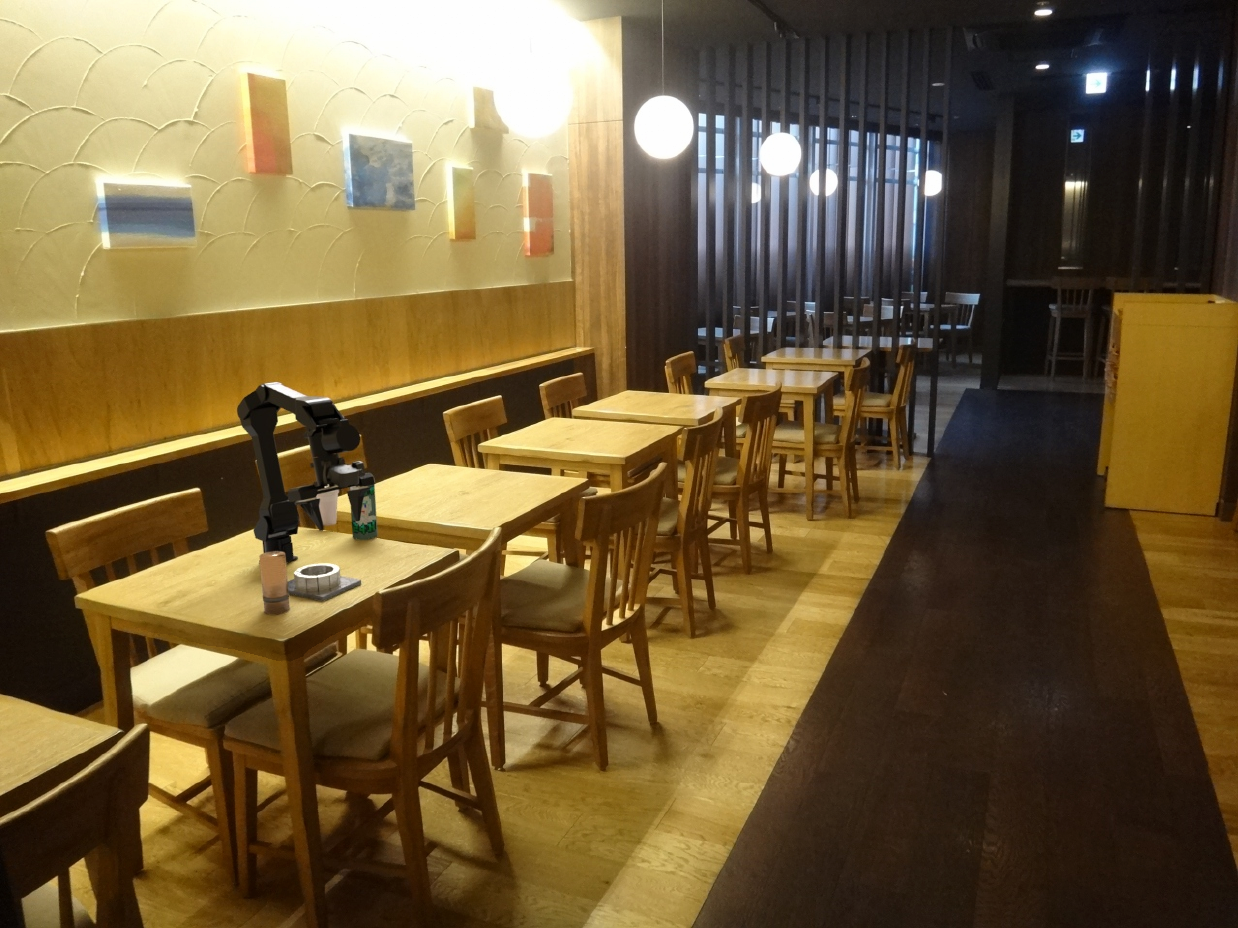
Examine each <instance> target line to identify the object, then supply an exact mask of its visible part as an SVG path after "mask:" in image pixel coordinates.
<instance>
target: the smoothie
mask: <svg viewBox="0 0 1238 928" xmlns="http://www.w3.org/2000/svg"><path fill="white" fill-rule="evenodd" d="M326 487H329V484H328V486H326ZM339 493H340V489H339V490H335V491H330V492H326V493H321V494H317V496H316V499H319V498H320V503H319V508H320V513H321V517H322V521H323V526H334V525H336V524H337V515H338V513H337V511H338V498H339Z"/></svg>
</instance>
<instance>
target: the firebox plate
mask: <svg viewBox="0 0 1238 928" xmlns="http://www.w3.org/2000/svg"><path fill="white" fill-rule="evenodd" d="M287 581H288V592H289V596H294V597H300V598H305V599H309V600H314V601H318V602H319V601H320V602H325V601H326V600H329V599H331V598H334V597H336V596H338V595H340V594H343V593H345V592H347V591H349V590H351V589H354V588H355V587H358V586H360V585H362V579H358V578H353V577H348V576H342V575H341V569H340V567H339V566H338V565H336V564H333V563H313V564H308V565H304V566H301V567H299V568H296V569H295V571H294V572H293V579H291V580H287Z"/></svg>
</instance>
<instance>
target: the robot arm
mask: <svg viewBox="0 0 1238 928" xmlns="http://www.w3.org/2000/svg"><path fill="white" fill-rule="evenodd" d="M236 408H237V409H236V412H237V416H238V418H239V420H240V425H241V428H242V429H243V430H244V431H245V432H246V433H247V435H249V436H250V437H251V442H252V446H253V447H252V448H253V450H254V455H255V461H256V465H257V471H258V476H259V480H260V485H261V490H262V491H261V492H262V494H263V495H262V496H263V499H262V501H261V503H260V506H259V509H258V514H259V519H258V522H257V523H256V525H255V526H254V528H253V534H254V538H255V539H257V540H259V541H261V542H262V550H263V551H262V552H263V553H266V552H272V551H281V552H284V553H285V557H286V564H288V563H290V562H292V561H295V560H298V559H299V557H298V556H297V555H294V547H293V545H294V544H293V542H292V535H293V536H294V535H297V534H298V533H299V525H300V514H299V511H298V509H297V506H298V505H299V507H300V508H301V509H303V511H304V512H305V513H306V514H307V516H308V517H309V518H310V520H312V522H313V523H314V525H315V526H316V527H317V529H318V530H319V531H324V529H325V528H324V525H323V521H322V517H321V513H320V508H319V503H320V498H319V499H317V497H316V496H317V494H321V493H326V492H330V491H335V490H339V491H340V490H343V489H348V488H350V489H349V490H346V494H347V497H348V498H347V499H348V501H349V504H350V505H349V506H350V509H351V508H352V512H353V515H354V518H355V520H356V521H360V517H361V510H362V503H363V499H364V496H365V494H366V492H367V491H368V490H369V489H371V487H368V486H369V485H374V484H375V485H376V484H377V483H376V480H375V476H374V475H373V474H372V473H371V472H366V469H365V464H364V462H363V461H360V460H358V461H355V462H354V461H353V462H352V464H348V465H347V463H346V460H345V458H344V456H343V457H341V455H340V454H342V453H346V452H352V451H354V450H356V449H357V448H358V447H359V446H360V443H361V434H360V433H359V431H358V429H357V428H356V427H355V426H354V425H352V424H350V423H349V419H347V418H346V419H345V416H344V415H343V414H342V413H341V412H340V411H339V409H338V407H337V406H336V405H335V403H334V401H333V400H332V399H331V398H329V397H327V396H326V397H325V396H309V395H305V394H304V393H301V392H299V391H296V390H294V389H292V388H290V387H288V386H285V385H284V384H283V383H281V382H279V381H278V382H277V381H274V382H266V383H261V384H259V385H258V386H257V388H256V389H255V390H253V391H252V392H250V393H249V394H247V395H245V396H244V397H242V399H241V400H240V402H239V404H238V405H237V407H236ZM281 409H282V410H285V411H287V412H290V413H292V414H294V416H295V418H294V419H295V421H297V422H298V423H299V424H301V425H302V427H305V428H306V430H305V432H304V433H303V435H302V437H303V439H307V440H308V445H309V448H310V455H311V458H312V459H311V460H312V462H311V463H309V464H310V468H311V469H314V474H315V479H316V481H313V484H308V485H307V484H306V485H302V486H297V487H293V488H289V490H288V492H287V494H286V490H285V485H284V480H283V475H282V470H281V465H280V461H279V456H278V455H279V454H278V450H277V445H276V440H275V434H274V433H275V431H276V427H277V425H278V422H279V418H278V417H279V416H278V413H279V411H280V410H281ZM328 484H329V487H327V486H328ZM259 563H260V559H259Z"/></svg>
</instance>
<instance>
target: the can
mask: <svg viewBox="0 0 1238 928" xmlns="http://www.w3.org/2000/svg"><path fill="white" fill-rule="evenodd" d="M375 485H376V484H374V485H369V486H368V487H371V489H369V490H368V491H367V492H366V494H365V496H364V499H363V503H362V510H361V517H360V521H356V520H355V518H354V515H353V512H352V508H351V507H350V516H351V531H352V538H353V539H354V540H356V541H357V540H359V541H365V540H367V541H368V540H372V539H376V538H378V520H377V519H378V518H377V517H378V516H377V504H376V503H377V502H376V487H375ZM348 488H349V487H348ZM349 490H350V488H349Z"/></svg>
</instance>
